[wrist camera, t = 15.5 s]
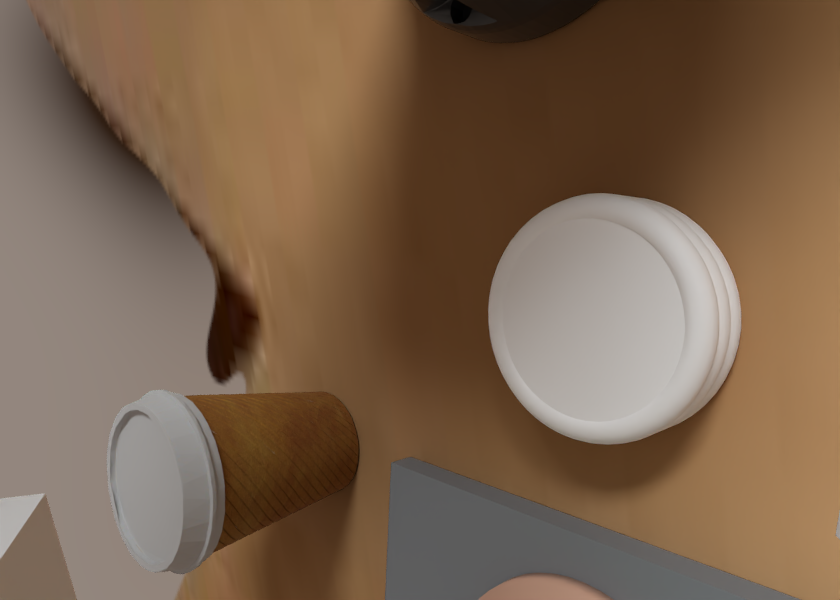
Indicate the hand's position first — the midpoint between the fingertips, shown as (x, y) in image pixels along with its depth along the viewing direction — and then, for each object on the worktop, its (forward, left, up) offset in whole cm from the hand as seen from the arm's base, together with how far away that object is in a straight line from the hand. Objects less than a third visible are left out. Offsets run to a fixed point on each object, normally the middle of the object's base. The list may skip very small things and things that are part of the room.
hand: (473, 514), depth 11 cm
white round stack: (-5, -5, -19) cm, 20 cm away
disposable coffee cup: (-6, -27, -19) cm, 34 cm away
